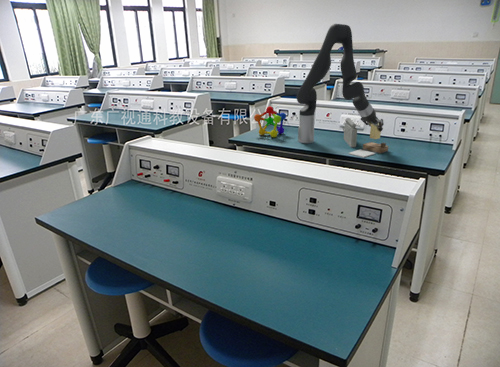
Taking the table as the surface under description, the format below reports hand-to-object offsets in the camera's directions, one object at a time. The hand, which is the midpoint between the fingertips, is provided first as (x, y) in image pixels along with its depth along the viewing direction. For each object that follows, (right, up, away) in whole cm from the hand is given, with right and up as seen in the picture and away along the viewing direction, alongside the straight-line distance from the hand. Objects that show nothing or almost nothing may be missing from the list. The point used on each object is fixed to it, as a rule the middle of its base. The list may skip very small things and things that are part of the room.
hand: (377, 129), depth 203 cm
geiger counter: (-11, -5, +22) cm, 25 cm away
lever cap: (-1, -5, +1) cm, 5 cm away
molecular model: (-57, +3, +47) cm, 74 cm away
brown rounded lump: (-1, -11, +3) cm, 12 cm away
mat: (-10, -14, -3) cm, 17 cm away
